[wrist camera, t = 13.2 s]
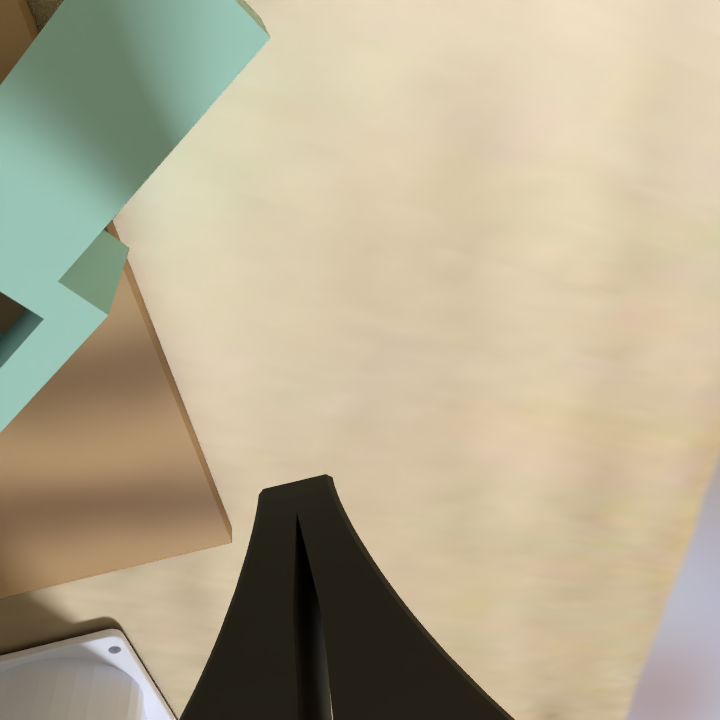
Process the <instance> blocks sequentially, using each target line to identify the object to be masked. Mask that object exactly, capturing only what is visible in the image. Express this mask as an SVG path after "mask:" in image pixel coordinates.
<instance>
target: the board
mask: <svg viewBox="0 0 720 720" xmlns="http://www.w3.org/2000/svg"><path fill="white" fill-rule="evenodd" d="M38 34H39V31H38V28H37V26H36V23H35V21H34V18H33V16H32V13H31V10H30V8H29V5H28V3H27V0H0V85H1V84H2V82H3V81H4V80H5V78H6V77H7V76H8V74H9V73H10V72H11V70H12V69H13V68H14V66H15V65H16V64H17V62H18V61H19V60H20V58H21V57H22V56H23V54H24V53H25V52H26V50H27V49H28V48H29V46H30V45H31V44H32V42H33V41H34V40H35V38H36V37H37V36H38ZM104 230H105V231H107V232H108V233H109V234H111V235H112V236H113V237H115V238H116V239H118V240H119V241H120V239H119V237H118V234H117V231H116V229H115V226H114V224H113V221H112V220H111V221H110V222H109V223H108V225H107V226H106V227H105V228H104ZM26 309H27V308H26V307H24V306H23V305H21V304H19V303H18V302H16V301H15V300H13V299H11V298H10V297H8V296H7V295H5V294H3V293H2V292H0V332H2V333H3V334H5V333H6V332H7V331H8V330H9V328H10V327H11V326H12V325H13V324H14V323H15V322H16V320H17V319H18V318H19V317H20V316H21V315H22V313H23V312H24V311H25V310H26ZM229 543H232V527H231V524H230V522H229V519H228V517H227V514H226V512H225V509H224V506H223V504H222V501H221V499H220V496H219V494H218V491H217V488H216V486H215V483H214V481H213V478H212V476H211V473H210V470H209V468H208V465H207V463H206V460H205V458H204V455H203V452H202V450H201V447H200V445H199V442H198V440H197V437H196V434H195V432H194V429H193V427H192V424H191V422H190V419H189V416H188V414H187V411H186V409H185V406H184V404H183V401H182V398H181V396H180V393H179V391H178V388H177V386H176V383H175V380H174V378H173V375H172V373H171V370H170V368H169V365H168V362H167V360H166V357H165V355H164V352H163V350H162V347H161V344H160V342H159V339H158V337H157V334H156V332H155V329H154V326H153V324H152V321H151V319H150V316H149V314H148V311H147V308H146V306H145V303H144V301H143V298H142V296H141V293H140V291H139V288H138V285H137V283H136V280H135V278H134V275H133V273H132V270H131V267H130V265H129V262H128V260H127V258H126V261H125V264H124V267H123V271H122V274H121V277H120V280H119V283H118V286H117V290H116V293H115V296H114V299H113V302H112V306H111V309H110V312H109V315H108V316H107V317H106V318H105V320H104V321H103V322H102V323H101V324H100V325H99V326H98V327H97V328H96V329H95V330H94V332H93V333H92V334H91V335H90V336H89V337H88V338H87V339H86V340H85V341H84V342H83V343H82V345H81V346H80V347H79V348H78V349H77V350H76V351H75V352H74V353H73V354H72V355H71V356H70V358H69V359H68V360H67V361H66V362H65V363H64V364H63V365H62V366H61V367H60V368H59V369H58V371H57V372H56V373H55V374H54V375H53V376H52V377H51V378H50V379H49V380H48V381H47V382H46V384H45V385H44V386H43V387H42V388H41V389H40V390H39V391H38V392H37V393H36V394H35V396H34V397H33V398H32V399H31V400H30V401H29V402H28V403H27V404H26V405H25V406H24V407H23V409H22V410H21V411H20V412H19V413H18V414H17V415H16V416H15V417H14V418H13V419H12V420H11V422H10V423H9V424H8V425H7V426H6V427H5V428H4V429H3V430H2V431H1V432H0V599H1V598H5V597H9V596H13V595H17V594H22V593H26V592H30V591H34V590H38V589H42V588H46V587H51V586H55V585H59V584H63V583H67V582H71V581H75V580H79V579H84V578H88V577H92V576H96V575H100V574H104V573H108V572H113V571H117V570H121V569H125V568H129V567H133V566H137V565H142V564H146V563H150V562H154V561H158V560H162V559H166V558H171V557H175V556H179V555H183V554H187V553H191V552H195V551H200V550H204V549H208V548H212V547H216V546H220V545H224V544H229Z"/></svg>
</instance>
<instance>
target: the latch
mask: <svg viewBox="0 0 720 720" xmlns="http://www.w3.org/2000/svg"><path fill="white" fill-rule="evenodd" d="M269 39H270V36H269V34H268V32H267V30H266V28H265V26H264V24H263V22H262V20H261V18H260V17H259V16H258V15H257V14H256V13H255V11H254V10H253V9H252V8H251V7H250V6H249V5H248V4H247V3H246V2H245V1H244V0H64V1H63V2H62V3H61V5H60V6H59V7H58V9H57V10H56V11H55V13H54V14H53V15H52V17H51V18H50V20H49V21H48V22H47V24H46V25H45V26H44V28H43V29H42V30H41V32H40V33H39V34H38V36H37V37H36V38H35V40H34V41H33V42H32V44H31V45H30V46H29V48H28V49H27V50H26V52H25V53H24V54H23V56H22V57H21V58H20V60H19V61H18V62H17V64H16V65H15V66H14V68H13V69H12V70H11V72H10V73H9V74H8V76H7V77H6V78H5V80H4V81H3V82H2V84H1V85H0V292H2V293H3V294H5V295H7V296H8V297H10V298H11V299H13V300H15V301H16V302H18V303H19V304H21V305H23V306H24V307H26V308H27V309H26V310H25V311H24V312H23V313H22V315H21V316H20V317H19V318H18V319H17V320H16V322H15V323H14V324H13V325H12V326H11V327H10V328H9V330H8V331H7V332H6V333H5V334H3V333H2V332H0V432H1V431H2V430H3V429H4V428H5V427H6V426H7V425H8V424H9V423H10V422H11V420H12V419H13V418H14V417H15V416H16V415H17V414H18V413H19V412H20V411H21V410H22V409H23V407H24V406H25V405H26V404H27V403H28V402H29V401H30V400H31V399H32V398H33V397H34V396H35V394H36V393H37V392H38V391H39V390H40V389H41V388H42V387H43V386H44V385H45V384H46V382H47V381H48V380H49V379H50V378H51V377H52V376H53V375H54V374H55V373H56V372H57V371H58V369H59V368H60V367H61V366H62V365H63V364H64V363H65V362H66V361H67V360H68V359H69V358H70V356H71V355H72V354H73V353H74V352H75V351H76V350H77V349H78V348H79V347H80V346H81V345H82V343H83V342H84V341H85V340H86V339H87V338H88V337H89V336H90V335H91V334H92V333H93V332H94V330H95V329H96V328H97V327H98V326H99V325H100V324H101V323H102V322H103V321H104V320H105V318H106V317H107V316H108V315H109V312H110V309H111V306H112V302H113V299H114V296H115V293H116V290H117V286H118V283H119V280H120V277H121V274H122V271H123V267H124V264H125V261H126V258H127V255H128V251H129V248H128V247H127V246H126V245H124V244H123V243H122V242H120V241H119V240H118V239H116V238H115V237H113V236H112V235H111V234H109V233H108V232H107V231H105V230H104V228H105V227H106V226H107V225H108V223H109V222H110V221H111V220H112V219H113V218H114V217H115V215H116V214H117V213H118V212H119V211H120V210H121V209H122V207H123V206H124V205H125V204H126V203H127V202H128V201H129V199H130V198H131V197H132V196H133V195H134V194H135V192H136V191H137V190H138V189H139V188H140V187H141V186H142V184H143V183H144V182H145V181H146V180H147V179H148V178H149V176H150V175H151V174H152V173H153V172H154V171H155V170H156V168H157V167H158V166H159V165H160V164H161V163H162V162H163V160H164V159H165V158H166V157H167V156H168V155H169V153H170V152H171V151H172V150H173V149H174V148H175V147H176V145H177V144H178V143H179V142H180V141H181V140H182V139H183V137H184V136H185V135H186V134H187V133H188V132H189V131H190V129H191V128H192V127H193V126H194V125H195V124H196V123H197V121H198V120H199V119H200V118H201V117H202V116H203V114H204V113H205V112H206V111H207V110H208V109H209V108H210V106H211V105H212V104H213V103H214V102H215V101H216V100H217V98H218V97H219V96H220V95H221V94H222V93H223V92H224V90H225V89H226V88H227V87H228V86H229V85H230V84H231V82H232V81H233V80H234V79H235V78H236V77H237V75H238V74H239V73H240V72H241V71H242V70H243V69H244V67H245V66H246V65H247V64H248V63H249V62H250V61H251V59H252V58H253V57H254V56H255V55H256V54H257V53H258V51H259V50H260V49H261V48H262V47H263V46H264V45H265V43H266V42H267V41H268V40H269Z"/></svg>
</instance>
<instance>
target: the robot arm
mask: <svg viewBox="0 0 720 720" xmlns="http://www.w3.org/2000/svg"><path fill="white" fill-rule="evenodd" d="M330 694H331V699H330ZM331 704H332V713H333V720H515V719H514V718H512V717H511V716H510V715H509V714H508V713H507V712H506V711H505V710H504V709H503V708H502V707H501V706H499V705H498V704H497V703H496V702H495V701H494V700H493V699H492V698H491V697H490V696H489V695H488V694H487V693H486V692H485V691H484V690H483V689H482V688H481V687H480V686H479V685H478V684H477V683H476V682H475V681H474V680H473V679H472V678H471V677H470V676H469V675H468V674H467V673H466V672H465V671H464V670H463V669H462V668H461V667H460V666H459V665H458V664H457V663H456V662H455V661H454V660H453V659H452V658H451V657H450V656H449V655H448V654H447V653H446V652H445V650H444V649H443V648H442V647H441V646H440V645H439V644H438V643H437V641H436V640H435V639H434V638H433V637H432V636H431V635H430V634H429V632H428V631H427V630H426V629H425V628H424V627H423V625H422V624H421V623H420V622H419V621H418V619H417V618H416V617H415V616H414V615H413V613H412V612H411V611H410V610H409V608H408V607H407V606H406V605H405V603H404V602H403V601H402V599H401V598H400V597H399V595H398V594H397V593H396V591H395V590H394V589H393V587H392V586H391V585H390V583H389V582H388V580H387V579H386V578H385V576H384V575H383V574H382V572H381V571H380V569H379V568H378V566H377V565H376V563H375V562H374V560H373V559H372V557H371V555H370V554H369V552H368V551H367V549H366V547H365V546H364V544H363V543H362V541H361V539H360V538H359V536H358V535H357V533H356V531H355V529H354V528H353V526H352V524H351V522H350V520H349V518H348V516H347V514H346V512H345V510H344V508H343V506H342V504H341V502H340V499H339V497H338V494H337V491H336V489H335V486H334V482H333V478H332V477H330V476H328V475H326V474H325V475H321V476H317V477H312V478H308V479H304V480H300V481H295V482H291V483H287V484H283V485H279V486H274V487H270V488H266V489H263V490H262V492H261V493H260V494H259V498H258V506H257V511H256V516H255V521H254V526H253V530H252V534H251V538H250V542H249V546H248V550H247V553H246V557H245V560H244V563H243V567H242V570H241V573H240V576H239V580H238V583H237V586H236V589H235V592H234V595H233V598H232V600H231V603H230V606H229V609H228V611H227V614H226V617H225V619H224V622H223V625H222V627H221V630H220V633H219V635H218V638H217V640H216V643H215V645H214V647H213V650H212V652H211V655H210V657H209V659H208V661H207V664H206V666H205V668H204V670H203V672H202V675H201V677H200V679H199V681H198V683H197V685H196V688H195V690H194V692H193V694H192V696H191V698H190V700H189V702H188V704H187V705H186V707H185V709H184V711H183V713H182V715H181V717H180V719H179V720H332V714H331ZM0 720H176V719H175V717H174V715H173V714H172V712H171V710H170V709H169V707H168V706H167V704H166V702H165V701H164V699H163V697H162V696H161V694H160V693H159V691H158V689H157V688H156V686H155V684H154V683H153V681H152V680H151V678H150V676H149V675H148V673H147V671H146V670H145V668H144V667H143V665H142V663H141V662H140V660H139V659H138V657H137V655H136V654H135V652H134V650H133V649H132V647H131V646H130V644H129V642H128V641H127V639H126V637H125V636H124V634H123V633H122V632H121V631H120V630H117V629H107V630H103V631H99V632H95V633H91V634H86V635H82V636H78V637H74V638H70V639H66V640H62V641H58V642H54V643H50V644H46V645H42V646H38V647H34V648H30V649H26V650H22V651H18V652H14V653H10V654H6V655H1V656H0Z"/></svg>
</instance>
